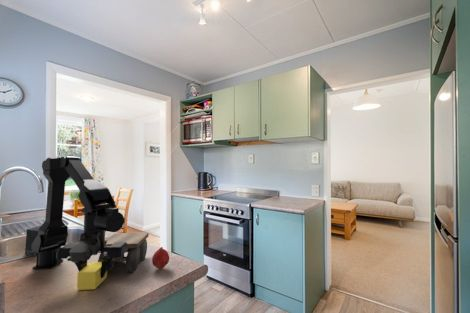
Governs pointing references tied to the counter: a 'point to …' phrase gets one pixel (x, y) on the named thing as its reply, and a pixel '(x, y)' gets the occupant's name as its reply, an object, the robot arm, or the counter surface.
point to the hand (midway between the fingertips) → (93, 277)
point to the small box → (31, 240)
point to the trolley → (129, 249)
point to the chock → (90, 276)
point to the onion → (160, 258)
